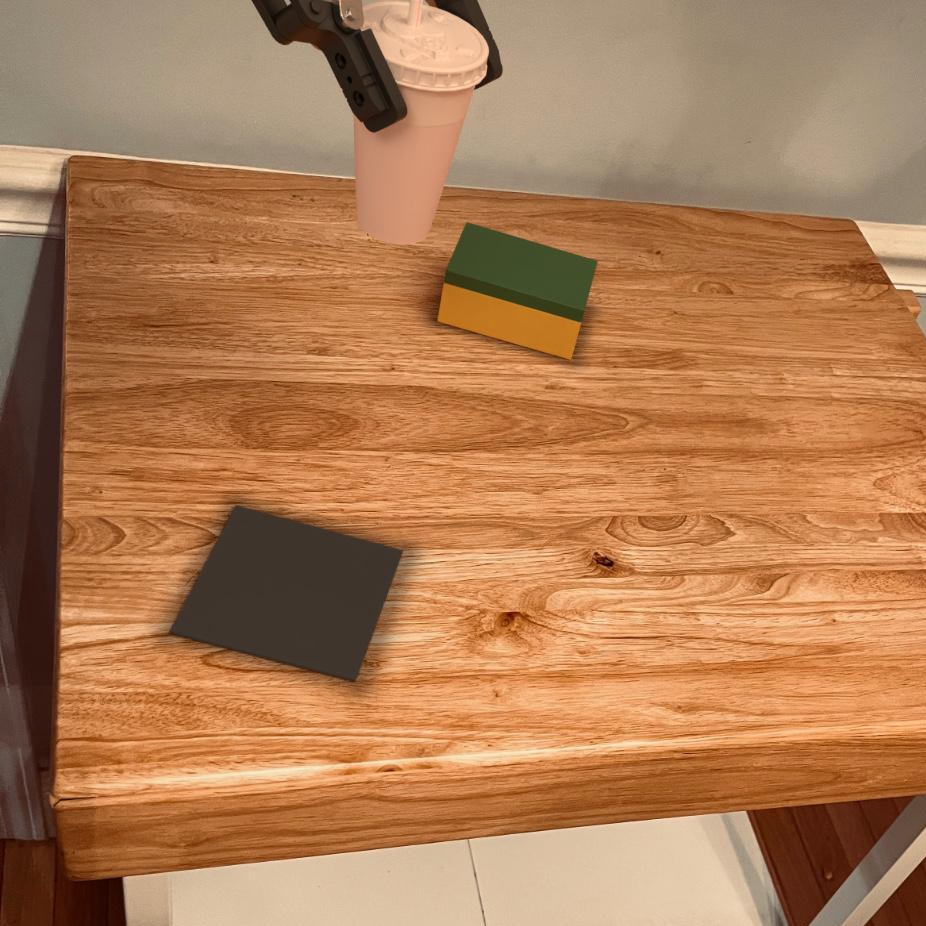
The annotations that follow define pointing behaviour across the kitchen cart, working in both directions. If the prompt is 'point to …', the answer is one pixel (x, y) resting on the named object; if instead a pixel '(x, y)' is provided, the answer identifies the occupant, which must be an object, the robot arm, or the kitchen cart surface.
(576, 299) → the scrubber
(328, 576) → the cloth
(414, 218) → the smoothie
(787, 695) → the kitchen cart surface
